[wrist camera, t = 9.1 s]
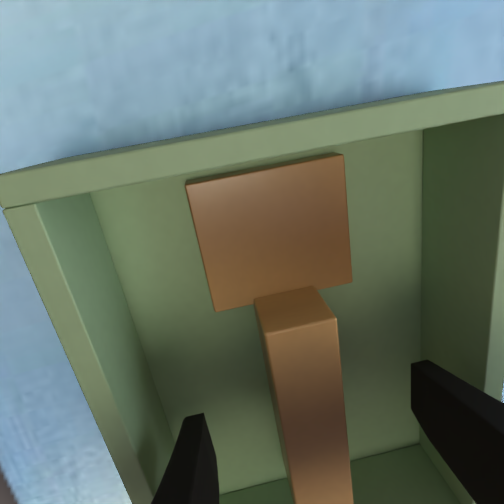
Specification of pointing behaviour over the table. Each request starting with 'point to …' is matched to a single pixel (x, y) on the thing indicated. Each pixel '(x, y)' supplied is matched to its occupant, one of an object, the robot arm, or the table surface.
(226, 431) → the bin
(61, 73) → the table surface
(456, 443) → the robot arm
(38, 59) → the table surface
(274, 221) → the spatula
